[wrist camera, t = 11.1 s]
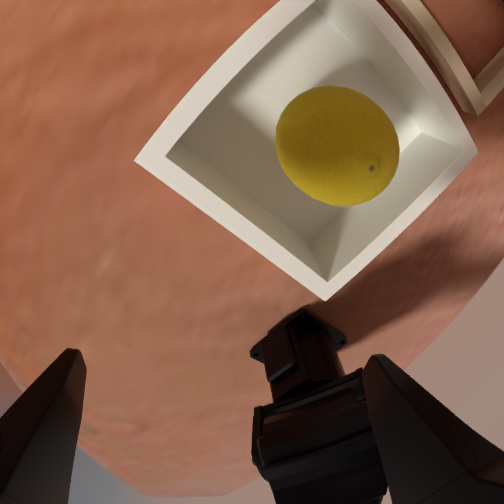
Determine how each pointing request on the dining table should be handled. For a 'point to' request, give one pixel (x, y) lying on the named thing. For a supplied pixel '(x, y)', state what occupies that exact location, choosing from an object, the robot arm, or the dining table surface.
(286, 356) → the robot arm
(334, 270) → the bin
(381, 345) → the dining table surface
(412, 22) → the rectangular frame
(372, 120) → the lemon
